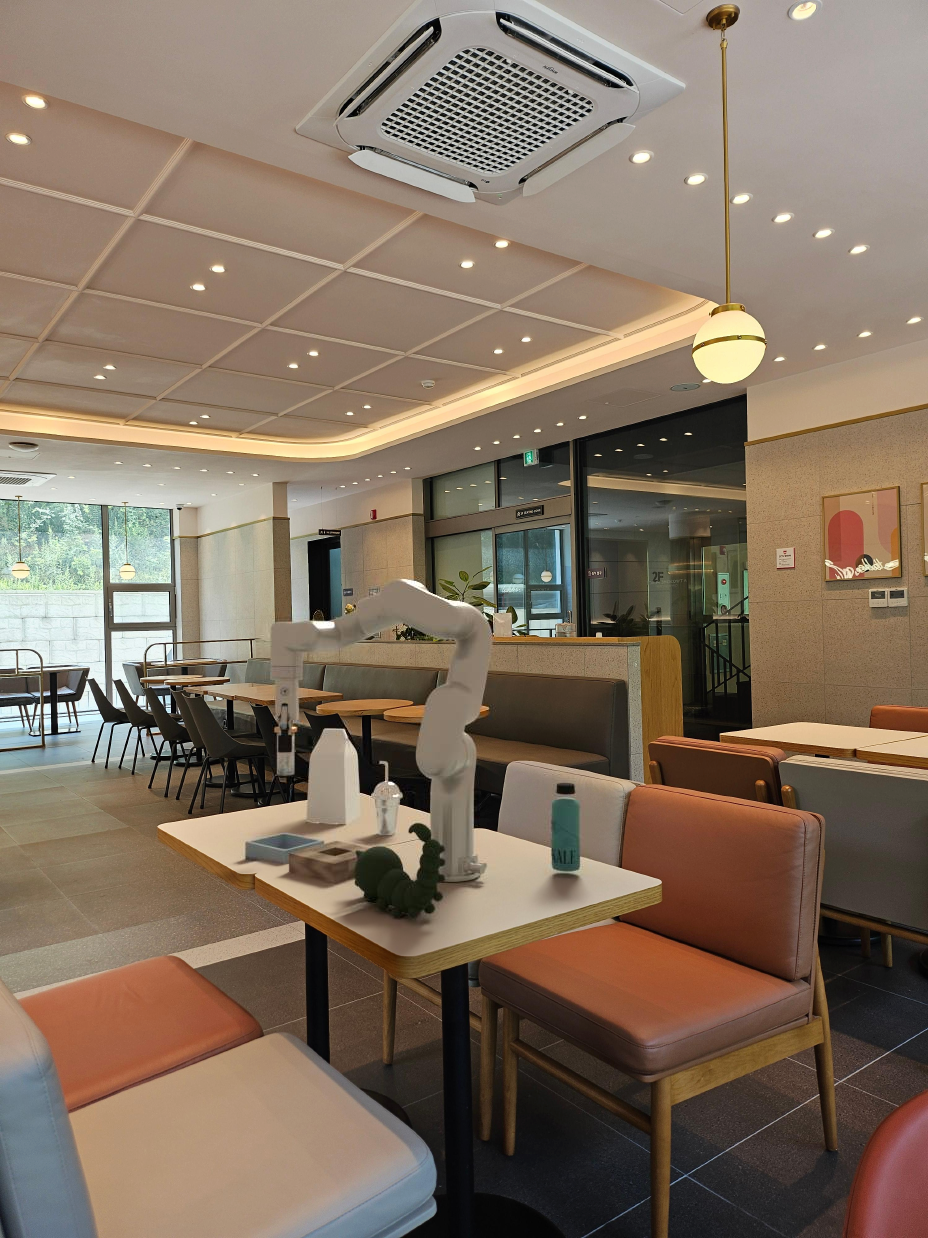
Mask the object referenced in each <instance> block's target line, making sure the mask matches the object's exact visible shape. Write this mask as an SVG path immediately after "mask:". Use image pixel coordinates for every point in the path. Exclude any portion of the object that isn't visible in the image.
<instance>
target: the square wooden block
mask: <svg viewBox="0 0 928 1238" xmlns="http://www.w3.org/2000/svg"><path fill="white" fill-rule="evenodd" d="M369 848H370V847H368V846H363V845H358V844H352V843H349V842H342V841H338V840H334V841H330V842H327V843H324V844H322V845H319V846H315V847H311V848H307V849H303V850H300V851H296V852H292V853H289V863H288V872H289V873H292V874H294V875H299V876H301V877H302V876H303V877H308V878H311V879H314V880H319V881H323V882H326V883H331V884H336V883H339V882H343V881H345V880H349V879H351V878H355V876H354V869H355V865H356V862H357V860H358V858H357V855H356V851H357V850H359V851H364V852H365V851H366V850H367V849H369Z"/></svg>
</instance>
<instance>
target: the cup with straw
mask: <svg viewBox="0 0 928 1238" xmlns="http://www.w3.org/2000/svg"><path fill="white" fill-rule="evenodd" d="M376 763H377V764H379V765H380V764H383V765H384V766H385V774H384V775H385V776H384V777H385V778H384V779H385V781H382V782H379V783H378V784H377V785H376V786H375V788H374V789H373V790H374V791H373V792H372V793H371V796H370V798H371V799H372V800H373V804H374V808H375V818H376V825H377V830H378V835H379V836H393V835H395V834H396V829H397V823H398V822H397V821H398V811H399V807H400V802H401V801H400V800H401V799H402V798H403V797H404V796H403V793H402V792H401V790H400V788H399V786H398V785H397V784H396V783H394V782H393V781H389V763H388V762H387V761H384V760H377V762H376Z"/></svg>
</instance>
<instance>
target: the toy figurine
mask: <svg viewBox="0 0 928 1238" xmlns="http://www.w3.org/2000/svg"><path fill="white" fill-rule="evenodd" d="M412 833H414V834H415V835H416V837H417V838H418V839H419V840H420V841H421V842H422V843H423V844H422V848H421V851H422V854H421V855H420V858H419V862H418V863H419V868H418V869H417V871H416V879H415V880H413V879H412V878H411V877H410V875H409V874H408V873H407V871H404V865H403V862H402V860H401V857H400V856H399V855H398V853H397V852H395V851H394V850H393V849H391V848H390V847H387V846H383V845H378V846H377V845H376V846H372V847H368V848H369V849H367V850H366V851H365V852H364V851H359V850H357V851H356V855H357V858H358V860H357V862H356V865H355V869H354V876H355V877H354V885H355V886H356V887H358V888H359V889H360V890H361V891H362V892H363V898H364V899H365V901H366V902H367V903H370V904H373V903H374V904H375V907H376V909H377V910H379V911H383V912H385V911H388V909H389V908H390V907H393V908H392V909H391V916H392V917H393V918H394V919H396V918H398V919H399V918H401V917H403V915H407V916H408V917H409V918H410V919H417V918H418V916H419V914H420V913H421V912H423V911H424V913H425V914H429V915H430V914H434V912H435V910H436V907H435V904H434V903H433V902H432V901H433V900H434V901H436V902H438V903H439V902H440V901H442V900H443V898H444V896H443V892H441V891H440V890H439V888H438V884H439V883H441V884H442V883H445V882H444V881H445V876H444V875H443V874H440V873H439V870H438V869H439V868H440V866H444V865H445V862H446V861H445V859H443V858H440V856H439V855H440V853H442V852H444V851H445V847H444V846H443V845H440V843H439V842H438V841H437V840H435V839H431V831H430V827H428V826H427V825H426V824H424V823H421V822H416V823H413V824H411V825H410V826H409V828H408V834H409V835H410V834H412Z"/></svg>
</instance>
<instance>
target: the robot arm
mask: <svg viewBox="0 0 928 1238" xmlns="http://www.w3.org/2000/svg"><path fill="white" fill-rule="evenodd" d="M401 624H404V625H405V626H409V627H411V628H413V629H415V630H417V631H419V632H422V633H423V634H425V635H427V636H429V637H432V638H434V639H438V640H454V643H455V647H454V649H453V653H452V654H451V655H452V656H451V659H450V662H449V668H448V673H447V677H446V680H445V683H444V684H441V685H439V686H437V687H436V688H435V689H433V690H432V691H431V693H430V694H429V696H428V697H427V699H426V702H425V705H424V710H423V712H422V718H421V723H420V728H419V733H418V738H417V743H416V749H415V750H416V751H415V761H416V765H417V767H418V770H419V771H420V773H422V775H424V776H425V777H426V778H428V779H431V783H430V802H429V803H430V804H429V805H430V806H429V807H430V810H429V812H430V816H429V817H430V821H429V822H430V825H429V826H430V827H429V829H430V831H431V839H435V840H437V841H438V842H439V843H440V845H443V846H444V847H445V851H444V852H442V853H440V855H439V856H440V858H443V859H445V861H446V862H445V865H444V866H440V868H439V869H438V870H439V873H440V874H443V875H444V876H445V881H444V882H443V883H456V882H457V883H461V882H467V881H471V880H475V879H477V878H479V877H480V876H481V875H484V874H485V871H486V869H487V866H488V864H487V863H486V862H483V861H479V859H478V857H479V856H478V854H476V853H474V852H475V851H474V850H475V849H474V848H475V847H474V845H475V844H474V843H475V842H474V841H475V840H474V821H475V820H474V813H475V810H474V809H475V808H474V804H475V803H474V800H475V797H474V796H475V792H474V791H475V790H474V789H475V774H476V768H477V767H476V766H477V747H476V744H475V742H474V739H473V738H472V737H471V736H470V735H469V734H468V733H466V732H465V729H466V726H467V725H469V724H471V723H474V721H476V720H477V719H478V718H479V716H480V713H481V710H482V704H483V698H484V693H485V688H486V683H487V679H488V678H487V677H488V670H489V665H490V661H491V656H492V651H493V632H492V628H491V625H490V622H489V621H488V620H487V618H486V616H485V615H484V614H483V613H482V612H481V611H480V610H479V609H477V608H476V607H475V606H473V605H472V604H469V603H467V602H464V601H463V602H462V601H460V600H459V601H458V600H450V599H449V600H448V599H445V598H442V597H440V596H439V595H436V594H433V593H431V592H429V590H428V589H427V587H426V586H425V585H423V584H422V583H420V582H418V581H415V580H411V579H406V578H405V579H404V578H395V579H392V580H390V581H388V582H387V583H386V584H384V585H383V587H382V588H381V589H380V591H379V592H377V593H375V594H372V595H369V596H367V597H364V598H361V599H359V600H358V601H357V603H356V605H355V609H354V610H353V611H351V612H349V613H346V614H344V615H342V616H339V617H336V618H334V619H330V620H327V621H326V620H304V621H297V622H296V621H277V622H273V623H272V624H271V627H270V668H269V669H270V671H269V673H270V674H269V677H270V678H269V680H270V681H274V683H275V684H274V686H275V687H274V688H275V691H274V692H275V693H274V700H275V701H274V702H275V703H274V706H275V707H274V708H275V709H274V710H275V721H276V722H277V723H278V727H279V735H278V752H279V753H288V752H292V735H291V726H293V727H294V723H297V722H298V721H299V719H300V709H299V708H300V707H299V706H300V697H299V696H300V690H299V689H300V688H299V686H300V685H299V681H303V675H304V673H303V667H304V666H303V664H304V657H303V656H304V653H305V654H306V653H307V654H318V653H332V652H335V651H339V650H342V649H344V648H347V647H350V646H352V645H355V644H358V643H360V642H362V641H365V640H366V639H368V638H370V637H372V636H373V635H374V634H378V633H380V632H383V631H386V630H389V629H391V628H394V627H397V626H399V625H401ZM288 728H289V730H288Z"/></svg>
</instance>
